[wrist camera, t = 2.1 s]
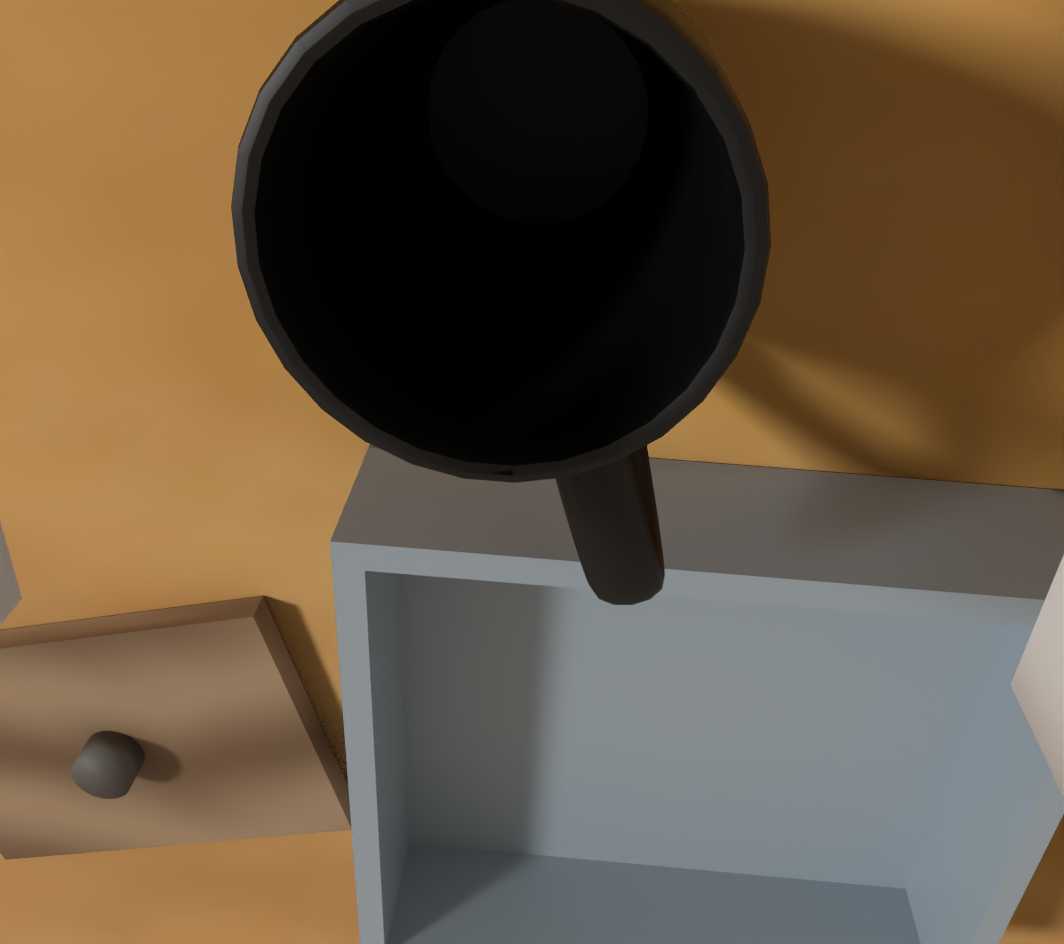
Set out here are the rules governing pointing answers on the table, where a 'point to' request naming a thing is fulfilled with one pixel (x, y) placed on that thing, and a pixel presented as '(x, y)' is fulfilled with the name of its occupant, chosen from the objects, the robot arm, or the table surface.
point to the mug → (508, 243)
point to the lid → (159, 734)
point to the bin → (693, 711)
